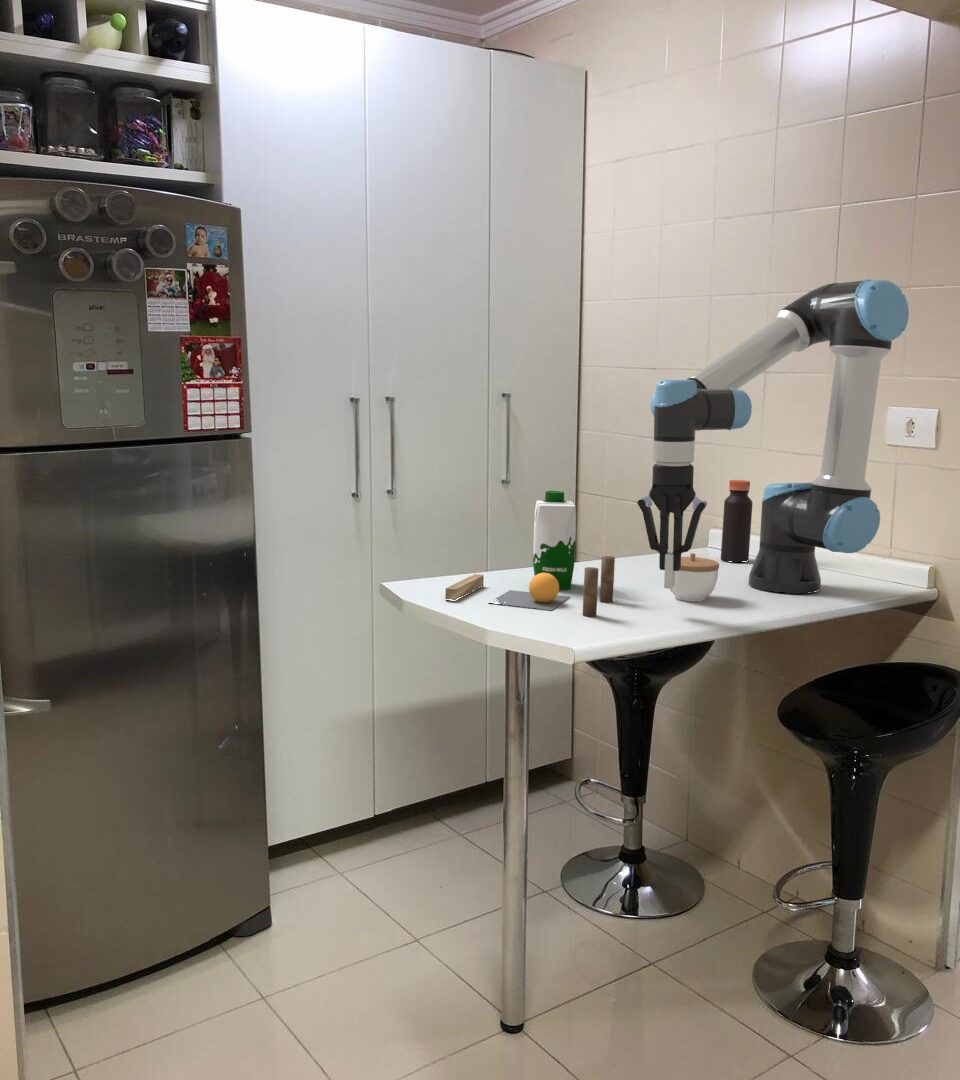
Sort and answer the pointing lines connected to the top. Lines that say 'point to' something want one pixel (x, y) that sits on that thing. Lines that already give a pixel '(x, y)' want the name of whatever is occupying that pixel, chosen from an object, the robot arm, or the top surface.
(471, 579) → the rail
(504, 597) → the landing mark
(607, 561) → the post
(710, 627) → the top surface
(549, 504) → the milk carton
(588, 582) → the post
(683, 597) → the lidded jar
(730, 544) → the bottle
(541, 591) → the ball
